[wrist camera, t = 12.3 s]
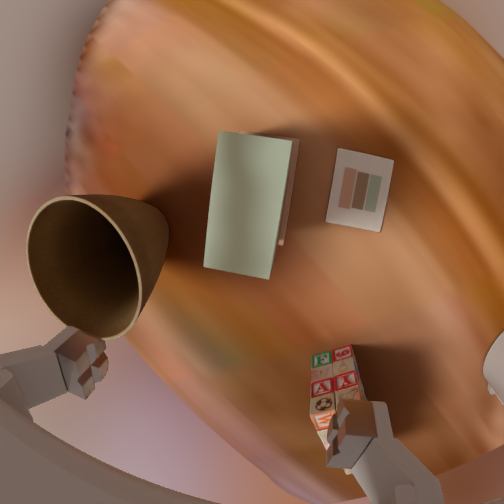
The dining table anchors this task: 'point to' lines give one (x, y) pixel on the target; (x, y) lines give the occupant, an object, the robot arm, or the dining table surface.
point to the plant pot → (96, 260)
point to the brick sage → (246, 203)
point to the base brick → (290, 181)
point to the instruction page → (359, 190)
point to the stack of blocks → (333, 387)
